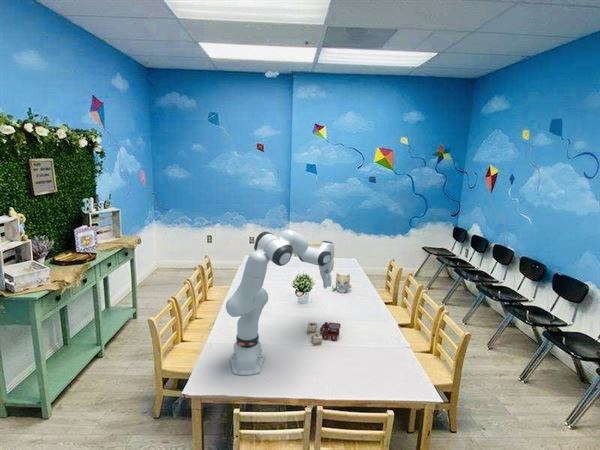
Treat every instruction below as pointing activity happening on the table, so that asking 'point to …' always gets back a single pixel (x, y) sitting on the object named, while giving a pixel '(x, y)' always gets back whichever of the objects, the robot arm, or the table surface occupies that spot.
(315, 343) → the maple cube one
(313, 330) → the maple cube seven
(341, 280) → the kitten
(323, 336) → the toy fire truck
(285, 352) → the table surface
